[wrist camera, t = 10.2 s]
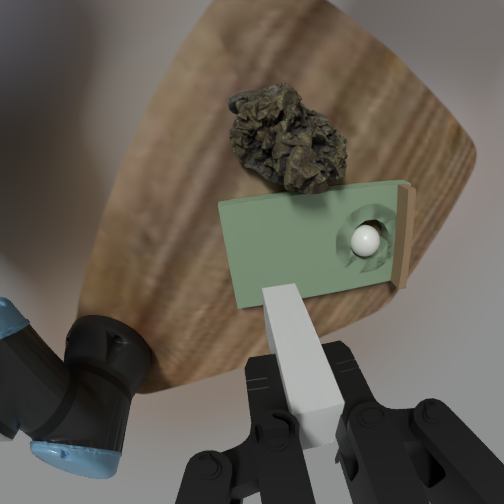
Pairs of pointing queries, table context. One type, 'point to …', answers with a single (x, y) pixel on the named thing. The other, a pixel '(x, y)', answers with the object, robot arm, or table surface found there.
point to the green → (317, 239)
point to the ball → (365, 240)
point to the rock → (286, 139)
